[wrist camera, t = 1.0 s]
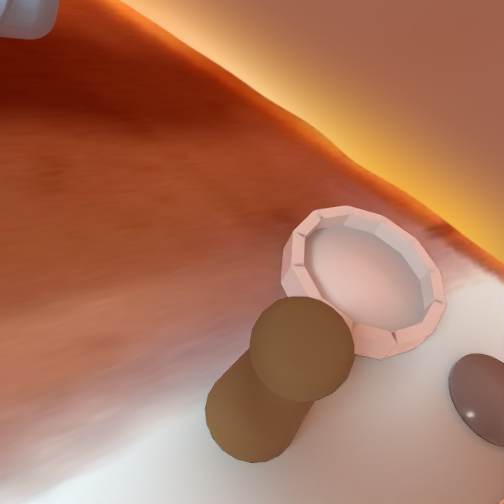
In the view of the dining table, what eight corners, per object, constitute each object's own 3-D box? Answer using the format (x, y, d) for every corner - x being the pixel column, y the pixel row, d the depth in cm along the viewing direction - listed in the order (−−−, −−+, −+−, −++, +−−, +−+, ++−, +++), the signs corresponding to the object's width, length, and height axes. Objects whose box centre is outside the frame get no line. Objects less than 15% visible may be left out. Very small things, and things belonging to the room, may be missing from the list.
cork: (293, 374, 33) (364, 287, 25) (298, 467, 30) (384, 399, 21) (208, 363, 32) (253, 267, 24) (201, 458, 28) (252, 383, 20)
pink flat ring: (256, 237, 40) (265, 217, 38) (375, 217, 46) (387, 199, 44) (329, 377, 34) (344, 362, 32) (456, 334, 40) (474, 318, 38)
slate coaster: (431, 370, 37) (435, 367, 36) (491, 347, 40) (496, 344, 40) (489, 461, 33) (495, 458, 33) (549, 428, 37) (555, 425, 36)
